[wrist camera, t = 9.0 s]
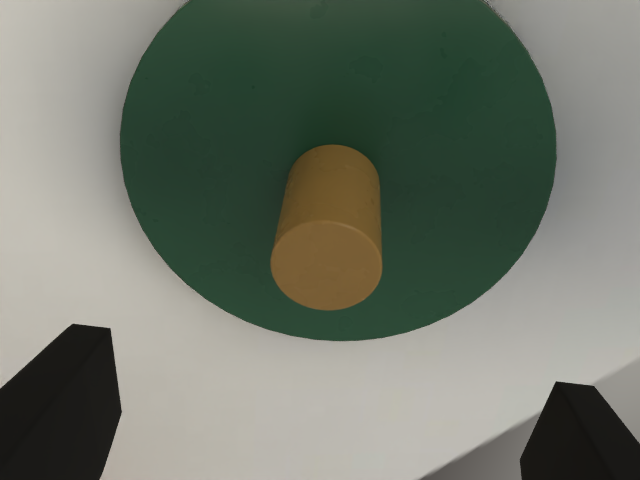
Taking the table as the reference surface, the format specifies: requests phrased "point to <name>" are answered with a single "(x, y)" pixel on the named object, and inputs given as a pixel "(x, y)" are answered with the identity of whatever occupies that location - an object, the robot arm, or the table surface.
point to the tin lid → (338, 158)
